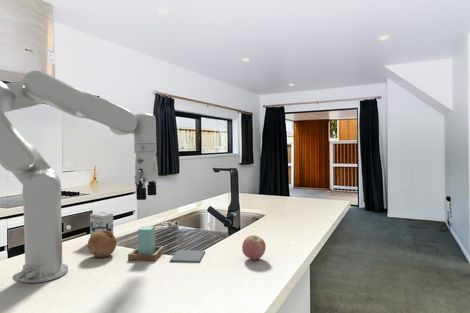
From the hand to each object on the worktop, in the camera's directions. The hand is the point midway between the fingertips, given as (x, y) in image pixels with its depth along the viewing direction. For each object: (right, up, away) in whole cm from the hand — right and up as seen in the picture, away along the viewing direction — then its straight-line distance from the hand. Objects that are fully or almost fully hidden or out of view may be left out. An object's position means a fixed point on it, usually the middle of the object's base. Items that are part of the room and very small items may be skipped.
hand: (147, 197), depth 107 cm
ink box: (-24, -21, +17) cm, 36 cm away
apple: (+38, -21, -4) cm, 43 cm away
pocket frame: (0, -21, 0) cm, 21 cm away
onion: (-16, -21, +1) cm, 27 cm away
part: (0, -21, 0) cm, 21 cm away
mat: (+15, -21, -1) cm, 26 cm away
